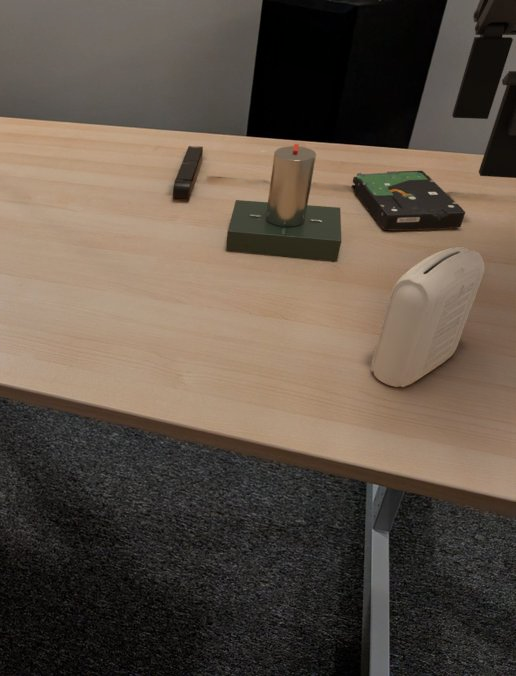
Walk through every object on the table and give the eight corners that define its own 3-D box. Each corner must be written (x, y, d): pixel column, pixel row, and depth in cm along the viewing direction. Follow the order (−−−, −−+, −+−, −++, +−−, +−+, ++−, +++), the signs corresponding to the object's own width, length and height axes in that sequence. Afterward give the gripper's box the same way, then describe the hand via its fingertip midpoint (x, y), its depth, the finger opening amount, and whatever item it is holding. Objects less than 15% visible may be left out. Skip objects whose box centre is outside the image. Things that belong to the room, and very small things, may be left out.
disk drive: (461, 230, 88) (417, 186, 100) (468, 211, 86) (422, 168, 98) (383, 233, 89) (348, 188, 101) (388, 215, 87) (352, 171, 99)
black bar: (188, 203, 100) (189, 185, 98) (172, 202, 101) (172, 183, 99) (203, 160, 114) (204, 144, 112) (188, 160, 114) (189, 143, 113)
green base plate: (336, 227, 91) (340, 206, 89) (337, 261, 83) (341, 239, 81) (233, 218, 95) (236, 198, 93) (225, 251, 87) (227, 229, 85)
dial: (303, 228, 85) (315, 159, 79) (264, 225, 86) (273, 156, 81) (305, 212, 88) (317, 145, 83) (267, 209, 90) (276, 142, 84)
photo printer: (421, 335, 70) (454, 230, 63) (460, 354, 67) (500, 246, 60) (362, 373, 65) (390, 265, 58) (401, 395, 62) (436, 284, 55)
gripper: (772, -216, 30) (583, 212, 42) (599, -191, 49) (504, 99, 61) (580, -200, 32) (454, 203, 44) (486, -182, 51) (416, 97, 63)
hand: (483, 143), depth 53 cm, fingers open, 13 cm apart
